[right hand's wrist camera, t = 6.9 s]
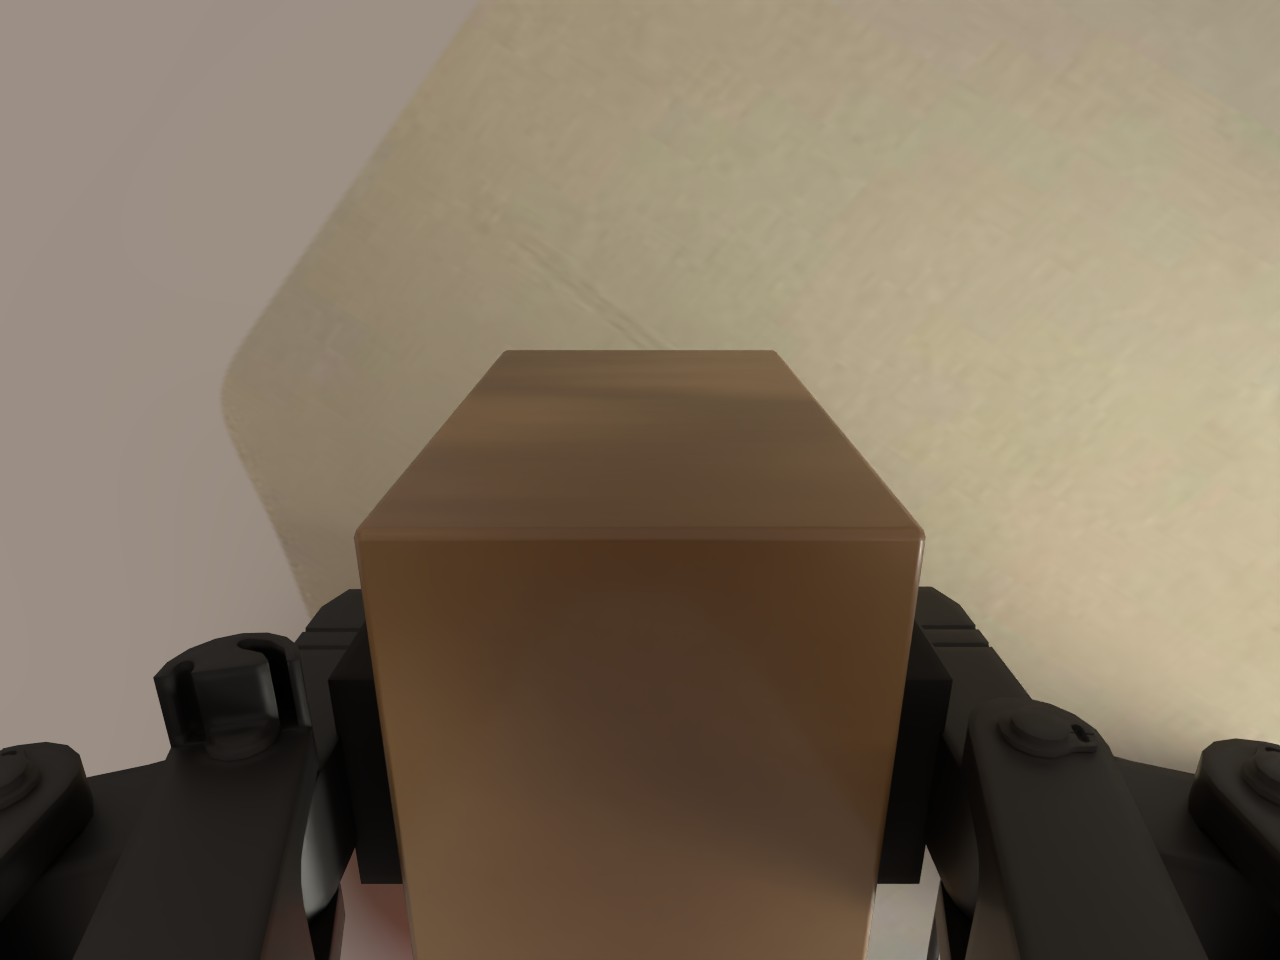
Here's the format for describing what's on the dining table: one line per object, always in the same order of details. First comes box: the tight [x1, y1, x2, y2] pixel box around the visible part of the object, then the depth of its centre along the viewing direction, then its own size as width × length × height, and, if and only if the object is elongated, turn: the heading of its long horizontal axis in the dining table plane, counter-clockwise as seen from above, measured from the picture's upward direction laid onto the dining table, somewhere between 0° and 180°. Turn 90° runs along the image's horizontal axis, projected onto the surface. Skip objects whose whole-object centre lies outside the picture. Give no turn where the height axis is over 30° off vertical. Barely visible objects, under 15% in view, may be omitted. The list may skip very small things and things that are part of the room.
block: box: [354, 350, 926, 960], centre depth 11 cm, size 5×7×8 cm
